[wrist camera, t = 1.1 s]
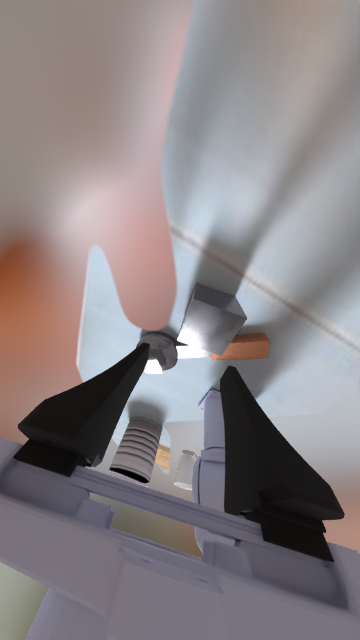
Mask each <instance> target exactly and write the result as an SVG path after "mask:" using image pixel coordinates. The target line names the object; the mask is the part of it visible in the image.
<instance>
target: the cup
mask: <svg viewBox="0 0 360 640" xmlns="http://www.w3.org/2000/svg"><path fill="white" fill-rule="evenodd" d="M193 454H194V455H195V456H196V458H198V456H197V455H196V454H195V453H194V452H191V451H187V450H183V451H182V455H181V457H180V460H179V464H178V468H177V472H176V477H175V481H174V484H175V485H177V486H178V487H181V488H184V489H188V490H192V476H193V468H194V460H193V457H192V456H193Z"/></svg>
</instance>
